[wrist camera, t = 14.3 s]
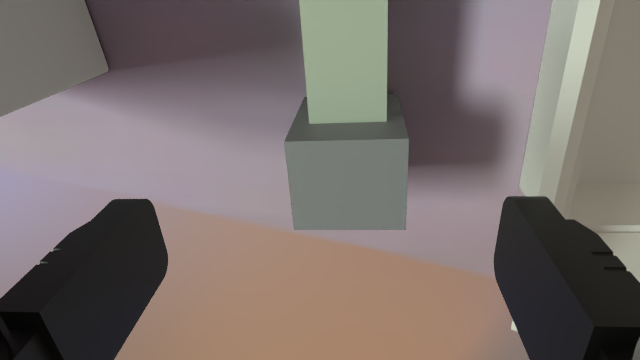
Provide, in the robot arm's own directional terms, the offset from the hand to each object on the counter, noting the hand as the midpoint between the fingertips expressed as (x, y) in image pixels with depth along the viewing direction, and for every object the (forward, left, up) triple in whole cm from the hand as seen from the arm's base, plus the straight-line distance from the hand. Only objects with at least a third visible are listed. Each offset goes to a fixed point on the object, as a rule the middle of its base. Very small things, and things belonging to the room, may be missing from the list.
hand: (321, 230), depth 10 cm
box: (0, 0, -17) cm, 17 cm away
